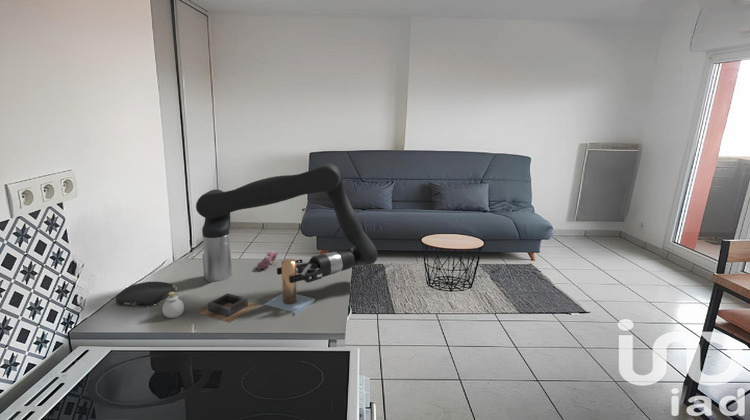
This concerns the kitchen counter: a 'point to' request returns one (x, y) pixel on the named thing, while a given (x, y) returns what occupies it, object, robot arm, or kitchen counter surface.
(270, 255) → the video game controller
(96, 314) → the kitchen counter surface
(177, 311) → the ornament
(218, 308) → the board
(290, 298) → the copper rod
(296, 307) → the pad
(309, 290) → the kitchen counter surface
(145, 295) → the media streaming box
